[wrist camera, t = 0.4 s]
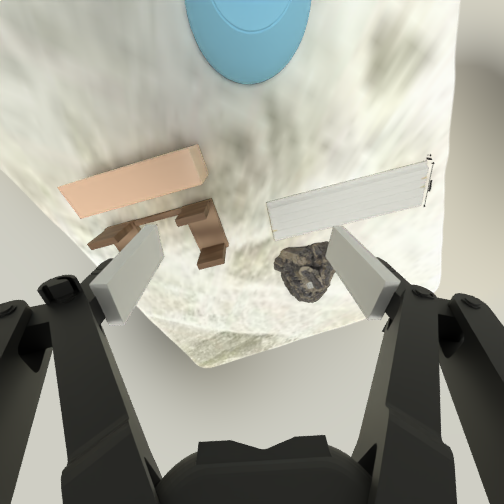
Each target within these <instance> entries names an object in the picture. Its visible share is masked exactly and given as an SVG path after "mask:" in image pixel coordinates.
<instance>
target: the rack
mask: <svg viewBox="0 0 504 504" xmlns="http://www.w3.org/2000/svg"><path fill="white" fill-rule="evenodd" d="M176 215H178V216H177V218H176V219H175V222H176V224H177V226H178V227H179V226H183V225H187V224H188V225H189V227H190V230H191V232H192V234H193V236H194V238H195V240H196V243H197V245H198V247H199V249H200V251H201V253H200V256H199V259H198V262H197V266H198V268H199V270H200V269H204V268H208V267H212V266H216V265H220V264H224V263H225V254H226V247H228V246H229V244H228V241H227V238H226V236H225V233H224V230H223V227H222V225H221V222H220V219H219V216H218V214H217V211H216V208H215V206H214V203H213V200H212V198H211V199H208V200H204V201H201V202H197V203H193V204H190V205H186V206H183V207H181V208H177V209H174V210H170V211H167V212H163V213H159V214H156V215H152V216H148V217H145V218H141V219H138V220H132V221H129V222H125V223H121V224H118V225H114V226H111V227H107V228H106V229H105V231H104V232H102V233H101V234H100V235H98V236H97V237H96V238H94V239H93V240H92V241H91V242H89V243H88V244H87V245H88V246H89V247H90V249H91V250H94V249H97V248H101V247H105V246H109V245H112V244H114V245H115V246H116V247H117V249H118V250H119V252H120V251H121V250H122V249H123V248H124V247H125V246H126V245H127V244H128V243H129V242H130V241H131V240H132V239H133V238H134V237H135V236H136V235H137V234H138V233H139V232H140V231H141V229H140V227H139V225H143V224H146V223H150V222H154V221H157V220H161V219H165V218H168V217H172V216H176Z"/></svg>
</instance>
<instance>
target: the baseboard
mask: <svg viewBox="0 0 504 504" xmlns="http://www.w3.org/2000/svg"><path fill="white" fill-rule="evenodd" d="M430 156H431V154H430ZM427 159H428V160H432V158H428V157H427V158H426V160H427ZM432 164H434V162H433V163H432ZM432 168H433V165H432ZM428 169H429V168H428V166H427V161H423V162H419V163H415V164H411V165H408V166H404V167H400V168H396V169H392V170H388V171H384V172H381V173H377V174H373V175H369V176H365V177H361V178H358V179H354V180H350V181H346V182H342V183H338V184H335V185H331V186H327V187H323V188H319V189H315V190H312V191H308V192H304V193H300V194H296V195H292V196H288V197H285V198H281V199H277V200H273V201H269V202H266V203H267V208H268V212H269V217H270V222H271V226H272V231H273V235H274V240H275V241H278V240H282V239H286V238H290V237H294V236H298V235H302V234H306V233H310V232H315V231H319V230H323V229H327V228H331V227H333V226H339V225H343V224H347V223H352V222H356V221H360V220H364V219H368V218H372V217H376V216H380V215H385V214H389V213H393V212H397V211H401V210H405V209H409V208H413V207H417V206H421V205H422V200H423V193H424V190H425V183H426V180H427V173H428ZM431 172H432V170H431ZM430 177H431V175H430ZM429 182H430V185H428V187H429V190H427V192H428V191H431V184H432V180H429ZM426 197H427V195H426ZM425 202H426V200H425ZM423 206H424V207H425V205H423Z"/></svg>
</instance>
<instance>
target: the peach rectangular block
mask: <svg viewBox="0 0 504 504" xmlns="http://www.w3.org/2000/svg"><path fill="white" fill-rule="evenodd" d="M208 175H209V173H208V171H207V168H206V165H205V162H204V159H203V156H202V153H201V151H200V148H199V145H198V144H196V145H193V146H189V147H186V148H183V149H179V150H176V151H173V152H169V153H166V154H163V155H159V156H156V157H153V158H150V159H146V160H143V161H140V162H136V163H133V164H130V165H126V166H123V167H120V168H116V169H113V170H110V171H106V172H103V173H100V174H97V175H93V176H90V177H87V178H84V179H81V180H78V181H75V182H72V183H69V184H66V185H63V186H60V187H57V188H58V189H59V190H60V192H61V193H62V194H63V196H64V197H65V198H66V200H67V201H68V202H69V204H70V205H71V206H72V208H73V209H74V210H75V212H76V213H77V214H78V216H79V217H80V219H82V218H85V217H89V216H92V215H96V214H99V213H103V212H107V211H110V210H114V209H117V208H121V207H124V206H128V205H131V204H135V203H138V202H142V201H145V200H149V199H152V198H156V197H159V196H163V195H167V194H170V193H174V192H177V191H181V190H184V189H188V188H191V187H195V186H198V185H202V184H203V182H204V181H205V179H206V178H207V176H208Z"/></svg>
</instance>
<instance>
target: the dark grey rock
mask: <svg viewBox="0 0 504 504" xmlns="http://www.w3.org/2000/svg"><path fill="white" fill-rule="evenodd" d="M328 244H329V242H327V241H326V242H322V243H316V244H313V245H311V246H307V247H301V248H286V249H284V250H282V251H281V253H280V256H279V257H278V258H276V259H275V262H274V269H275V270H278V271H280V272H281V277H282V279H283V281H284V282H285V283H284V284H285V286H286V287H287V288H288V290H289V291H290V294H292V296H295V298H296V299H297V300H298V301H304V302H308V303H310V302H312V303H313V302H316V301H318V300H319V299H320V298H321V297H322V295H323V294H324V293H325V292H326V291H327V288H328V287H329V286H330V281H331V279H332V277H333V274H334V273H335V270H334V269H333V267H332V266H331V264H330V263H329V261H328V260H327V258H326V252H327V248H328Z"/></svg>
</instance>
